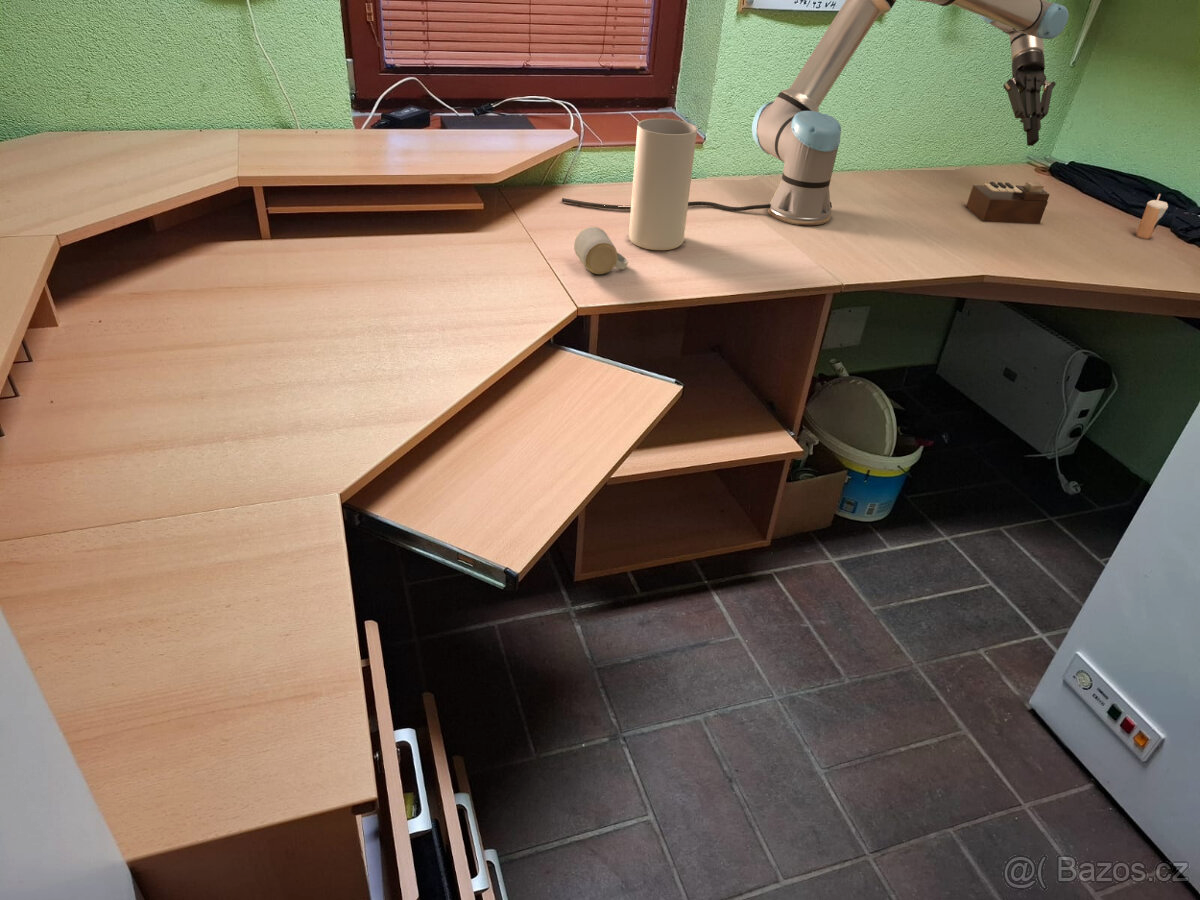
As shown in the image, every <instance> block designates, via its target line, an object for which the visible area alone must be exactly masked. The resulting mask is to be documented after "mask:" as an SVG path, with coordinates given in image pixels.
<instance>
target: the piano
mask: <svg viewBox="0 0 1200 900" xmlns="http://www.w3.org/2000/svg"><path fill="white" fill-rule="evenodd" d="M1015 186H1016V187H1017V188H1018V189H1020V190H1021V191H1022V193H1018V192H1000V191H999V192H997V191H992V190H990V189H989V188H988V187H986V186H985V185H982V184H980V185H978V184H973V185H972V187H971V190H970V194H969V196H968V199H967V202H966V205H965V207H966V208H967V209H969V210H970V211H971V212H972V213H973V214H975V216H977V218H978V219H980V220H981V221H982V222H993V223H1013V224H1014V223H1015V224H1037V225H1040V223H1041V221H1042V218H1043V215H1044V213H1045V211H1046V208H1047V205H1048V203H1049V199H1050V195H1051V194H1050V193H1049V192H1047V191H1046V190H1044V189H1043V190H1042V193H1040V192H1028V191H1027V190H1026V189H1024V186H1025V185H1017V184H1016V185H1015Z"/></svg>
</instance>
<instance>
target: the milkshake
mask: <svg viewBox="0 0 1200 900" xmlns="http://www.w3.org/2000/svg"><path fill="white" fill-rule="evenodd" d="M1161 196H1162V193H1158V195H1157V198H1156V199H1151V200H1149V201H1147V203H1146V205H1145V209H1144V211H1143V214H1142V217H1141V219H1140V222H1139V224H1138V227H1137V231H1136V233H1135V236H1136V237H1138V238H1140V239H1147V240H1149V239H1151V238H1152V236H1153V234H1154V232H1155V230H1156V229H1157V226H1158V225H1159V223H1160V222H1161V220H1162V218H1163V216H1164V215H1165V213H1166V211H1167V210H1168V208H1169V204H1168V202H1167V201H1163V200H1160V198H1161Z"/></svg>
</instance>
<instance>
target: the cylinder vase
mask: <svg viewBox="0 0 1200 900" xmlns="http://www.w3.org/2000/svg"><path fill="white" fill-rule="evenodd" d="M636 128H637V129H636V141H635V153H634V165H633V167H634V168H633V175H632V177H633V178H632V189H631V190H632V191H631V205H630V206H631V210H630V215H629V226H628V229H629V230H628V239H629V241H630V242H631V243H632V244H633V245H635V246H637V247H639V248H643V249H645V250H652V251H670V250H674V249H677V248H679V247H680V246H681V245H683V243H684V240H685V231H686V225H687V217H688V208H689V206H688V202H690V201H689V199H690V192H691V184H692V177H693V175H692V174H693V166H694V160H695V159H694V158H695V150H696V144H697V143H696V142H697V135H698V127H697V126H696V125H695V124H693V123H690V122H687V121H683V120H679V119H672V118H647V119H643V120H640V121H639V122H637V126H636Z"/></svg>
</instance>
